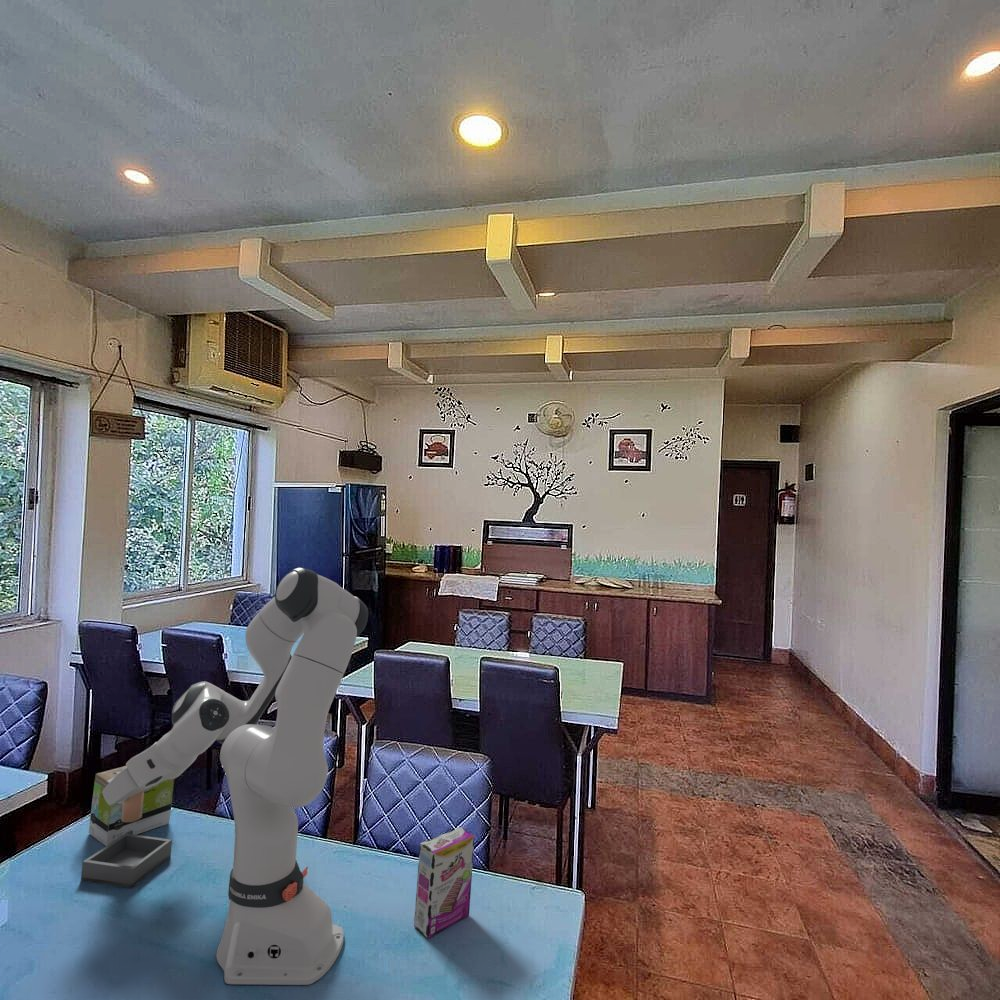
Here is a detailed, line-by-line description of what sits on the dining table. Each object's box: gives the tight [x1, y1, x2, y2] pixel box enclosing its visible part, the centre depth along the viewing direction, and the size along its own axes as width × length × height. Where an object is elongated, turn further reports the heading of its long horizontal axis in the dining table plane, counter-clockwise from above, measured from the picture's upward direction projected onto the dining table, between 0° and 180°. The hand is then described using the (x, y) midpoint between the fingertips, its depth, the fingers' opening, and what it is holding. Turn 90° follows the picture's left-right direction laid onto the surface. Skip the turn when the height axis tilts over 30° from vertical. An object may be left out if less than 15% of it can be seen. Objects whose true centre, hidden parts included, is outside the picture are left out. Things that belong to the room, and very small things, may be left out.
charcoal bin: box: [80, 833, 173, 889], centre depth 129 cm, size 12×12×4 cm
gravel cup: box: [121, 791, 144, 822], centre depth 130 cm, size 4×4×9 cm
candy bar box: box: [413, 826, 476, 939], centre depth 118 cm, size 11×5×16 cm, turn 135°
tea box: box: [88, 765, 175, 847], centre depth 146 cm, size 15×10×15 cm, turn 147°
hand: (131, 794), depth 130 cm, fingers closed on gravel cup, 4 cm apart
